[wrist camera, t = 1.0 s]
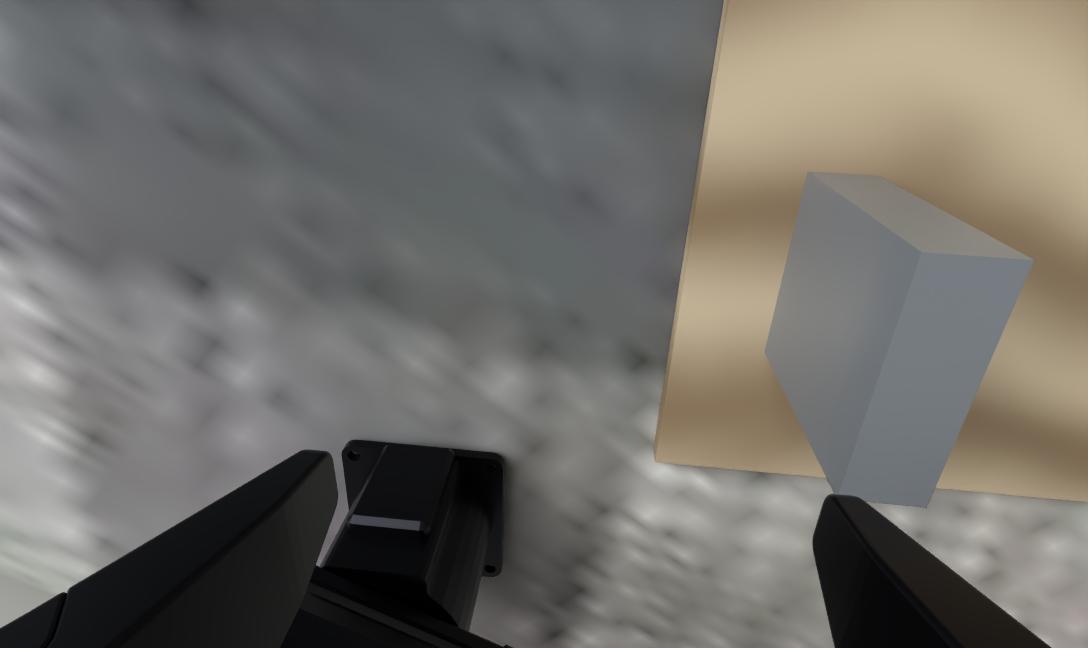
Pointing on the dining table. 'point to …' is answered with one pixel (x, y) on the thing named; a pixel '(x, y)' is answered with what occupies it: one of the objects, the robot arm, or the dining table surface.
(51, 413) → the dining table surface
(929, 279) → the block
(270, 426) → the dining table surface
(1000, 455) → the board
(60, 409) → the dining table surface
